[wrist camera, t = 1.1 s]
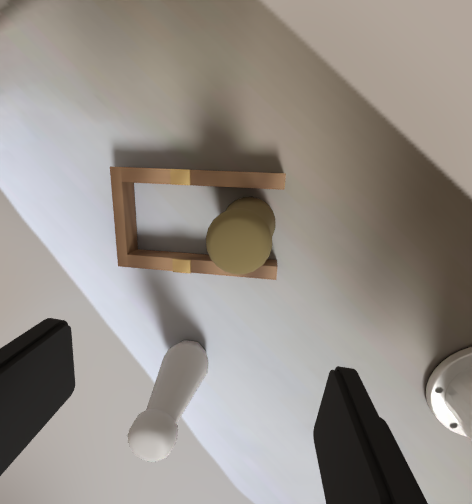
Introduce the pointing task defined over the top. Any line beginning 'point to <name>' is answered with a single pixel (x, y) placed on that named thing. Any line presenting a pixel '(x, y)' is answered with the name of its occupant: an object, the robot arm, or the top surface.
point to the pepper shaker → (241, 236)
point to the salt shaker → (168, 401)
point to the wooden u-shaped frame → (128, 176)
